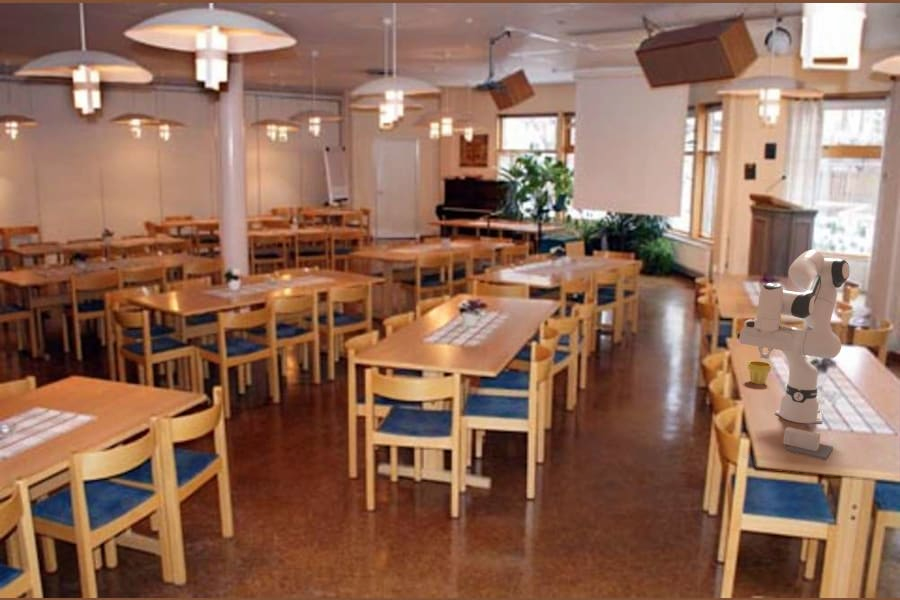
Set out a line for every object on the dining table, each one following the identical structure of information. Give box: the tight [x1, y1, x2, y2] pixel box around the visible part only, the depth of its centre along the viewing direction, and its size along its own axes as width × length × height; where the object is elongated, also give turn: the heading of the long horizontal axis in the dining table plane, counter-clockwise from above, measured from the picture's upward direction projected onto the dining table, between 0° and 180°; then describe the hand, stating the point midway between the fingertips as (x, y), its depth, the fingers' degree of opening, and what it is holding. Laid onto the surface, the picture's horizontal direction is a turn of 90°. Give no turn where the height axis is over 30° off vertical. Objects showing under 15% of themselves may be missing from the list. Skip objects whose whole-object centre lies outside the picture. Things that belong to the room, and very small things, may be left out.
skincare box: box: [783, 426, 821, 451], centre depth 300 cm, size 6×4×12 cm
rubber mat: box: [785, 443, 834, 461], centre depth 299 cm, size 14×14×1 cm
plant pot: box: [747, 360, 772, 385], centre depth 386 cm, size 10×10×10 cm
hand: (764, 358), depth 311 cm, fingers closed
